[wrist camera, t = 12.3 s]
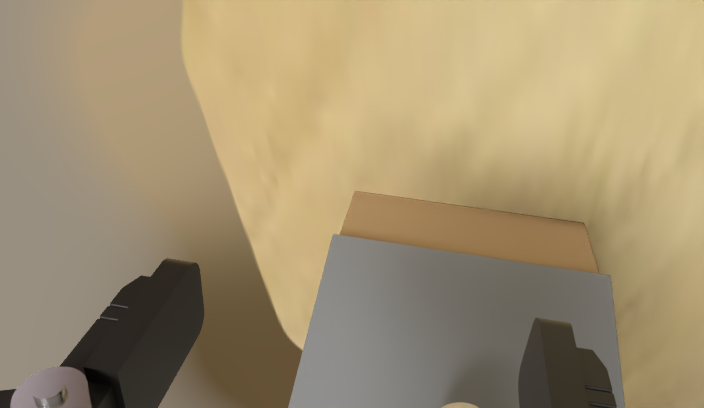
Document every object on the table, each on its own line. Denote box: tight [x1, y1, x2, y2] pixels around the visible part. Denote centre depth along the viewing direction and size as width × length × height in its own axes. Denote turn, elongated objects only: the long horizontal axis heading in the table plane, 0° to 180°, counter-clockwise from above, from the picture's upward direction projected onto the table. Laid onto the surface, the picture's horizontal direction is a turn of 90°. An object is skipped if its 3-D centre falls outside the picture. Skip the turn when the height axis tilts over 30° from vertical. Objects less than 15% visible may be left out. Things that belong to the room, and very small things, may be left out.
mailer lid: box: [288, 234, 625, 408], centre depth 36 cm, size 21×18×7 cm
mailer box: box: [340, 191, 599, 274], centre depth 52 cm, size 20×16×8 cm
